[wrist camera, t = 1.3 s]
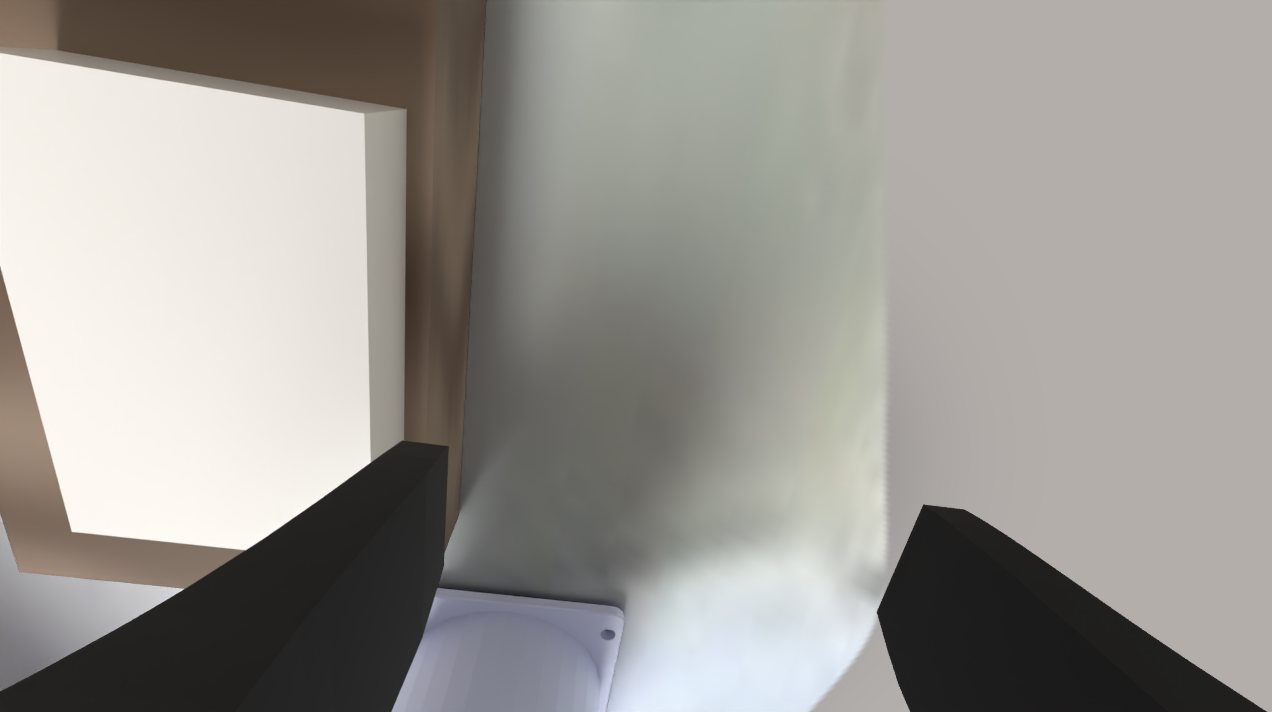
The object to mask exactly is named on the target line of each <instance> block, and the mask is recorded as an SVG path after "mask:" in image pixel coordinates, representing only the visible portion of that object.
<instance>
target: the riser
mask: <svg viewBox="0 0 1272 712" xmlns="http://www.w3.org/2000/svg"><path fill="white" fill-rule="evenodd" d="M485 16H486V0H0V47H12V48H28V49H45V50H59V51H65V52H70V53H76V54H82V55H88V56H94V57H100V58H106V59H112V60H118V61H124V62H130V63H136V64H142V65H148V66H154V67H160V68H166V69H171V70H177V71H183V72H189V73H195V74H201V75H207V76H213V77H219V78H225V79H231V80H237V81H243V82H249V83H255V84H261V85H266V86H272V87H278V88H284V89H290V90H296V91H302V92H308V93H314V94H320V95H326V96H332V97H338V98H344V99H350V100H356V101H362V102H367V103H373V104H379V105H385V106H391V107H397V108H403V109H407V128H406V254H405V381H404V441H411V442H419V443H427V444H435V445H443V446H449V455H448V479H447V502H446V525H445V549H444V553H445V550H446V547H447V545H448V542H449V539H450V537H451V534H452V531H453V529H454V526H455V524H456V521H457V518H458V516H459V501H460V482H461V464H462V445H463V426H464V408H465V389H466V370H467V352H468V333H469V314H470V296H471V277H472V258H473V240H474V221H475V202H476V184H477V165H478V146H479V128H480V109H481V90H482V72H483V53H484V34H485ZM0 514H1V517H2V520H3V524H4V527H5V530H6V533H7V536H8V539H9V542H10V545H11V548H12V551H13V554H14V557H15V560H16V564H17V567H18V570H19V572H25V573H35V574H45V575H55V576H65V577H75V578H85V579H95V580H105V581H115V582H125V583H134V584H144V585H154V586H164V587H174V588H184V589H186V588H187V587H189V586H190V585H192V584H193V583H195V582H197V581H198V580H200V579H201V578H203V577H204V576H206V575H207V574H209V573H211V572H212V571H214V570H215V569H217V568H218V567H220V566H222V565H223V564H225V563H226V562H228V561H229V560H231V559H233V558H234V557H236V556H237V555H239V554H240V553H242V552H244V551H245V550H239V549H229V548H220V547H211V546H201V545H192V544H182V543H173V542H163V541H154V540H144V539H135V538H126V537H116V536H107V535H97V534H88V533H78V532H72V531H71V527H70V523H69V519H68V516H67V512H66V508H65V505H64V501H63V497H62V494H61V490H60V486H59V482H58V479H57V475H56V471H55V468H54V464H53V460H52V456H51V453H50V449H49V445H48V442H47V438H46V434H45V430H44V427H43V423H42V419H41V416H40V412H39V408H38V405H37V401H36V397H35V393H34V390H33V386H32V382H31V379H30V375H29V371H28V367H27V364H26V360H25V356H24V353H23V349H22V345H21V342H20V338H19V334H18V330H17V327H16V323H15V319H14V316H13V312H12V308H11V304H10V301H9V297H8V293H7V290H6V286H5V282H4V278H3V275H2V271H1V267H0Z"/></svg>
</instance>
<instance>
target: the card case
mask: <svg viewBox="0 0 1272 712" xmlns="http://www.w3.org/2000/svg"><path fill="white" fill-rule="evenodd" d="M406 128H407V109H403V108H397V107H391V106H385V105H379V104H373V103H367V102H362V101H356V100H350V99H344V98H338V97H332V96H326V95H320V94H314V93H308V92H302V91H296V90H290V89H284V88H278V87H272V86H266V85H261V84H255V83H249V82H243V81H237V80H231V79H225V78H219V77H213V76H207V75H201V74H195V73H189V72H183V71H177V70H171V69H166V68H160V67H154V66H148V65H142V64H136V63H130V62H124V61H118V60H112V59H106V58H100V57H94V56H88V55H82V54H76V53H70V52H65V51H59V50H45V49H28V48H12V47H0V267H1V271H2V275H3V278H4V282H5V286H6V290H7V293H8V297H9V301H10V304H11V308H12V312H13V316H14V319H15V323H16V327H17V330H18V334H19V338H20V342H21V345H22V349H23V353H24V356H25V360H26V364H27V367H28V371H29V375H30V379H31V382H32V386H33V390H34V393H35V397H36V401H37V405H38V408H39V412H40V416H41V419H42V423H43V427H44V430H45V434H46V438H47V442H48V445H49V449H50V453H51V456H52V460H53V464H54V468H55V471H56V475H57V479H58V482H59V486H60V490H61V494H62V497H63V501H64V505H65V508H66V512H67V516H68V519H69V523H70V527H71V531H72V532H78V533H88V534H97V535H107V536H116V537H126V538H135V539H144V540H154V541H163V542H173V543H182V544H192V545H201V546H211V547H220V548H229V549H239V550H247V549H248V548H250V547H251V546H253V545H255V544H256V543H258V542H259V541H261V540H262V539H264V538H265V537H267V536H268V535H270V534H271V533H272V532H274V531H275V530H277V529H278V528H280V527H281V526H283V525H284V524H285V523H287V522H288V521H290V520H291V519H293V518H294V517H295V516H297V515H298V514H300V513H301V512H303V511H304V510H306V509H307V508H308V507H310V506H311V505H313V504H314V503H316V502H317V501H318V500H320V499H321V498H323V497H324V496H325V495H327V494H328V493H330V492H331V491H332V490H334V489H335V488H336V487H338V486H339V485H341V484H342V483H343V482H345V481H346V480H347V479H349V478H350V477H352V476H353V475H354V474H356V473H357V472H358V471H360V470H361V469H362V468H364V467H365V466H367V465H368V464H369V463H371V462H372V461H373V460H375V459H376V458H378V457H379V456H380V455H382V454H383V453H385V452H386V451H388V450H389V449H390V448H392V447H393V446H395V445H396V444H398V443H399V442H400V441H402V440H403V441H404V381H405V254H406Z"/></svg>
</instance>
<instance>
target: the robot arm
mask: <svg viewBox="0 0 1272 712" xmlns="http://www.w3.org/2000/svg"><path fill="white" fill-rule="evenodd" d="M448 455H449V446H443V445H435V444H427V443H419V442H411V441H403V440H402V441H400V442H399V443H398V444H396V445H395V446H393V447H392V448H390V449H389V450H388V451H386V452H385V453H383V454H382V455H380V456H379V457H378V458H376V459H375V460H373V461H372V462H371V463H369V464H368V465H367V466H365V467H364V468H362V469H361V470H360V471H358V472H357V473H356V474H354V475H353V476H352V477H350V478H349V479H347V480H346V481H345V482H343V483H342V484H341V485H339V486H338V487H336V488H335V489H334V490H332V491H331V492H330V493H328V494H327V495H325V496H324V497H323V498H321V499H320V500H318V501H317V502H316V503H314V504H313V505H311V506H310V507H308V508H307V509H306V510H304V511H303V512H301V513H300V514H298V515H297V516H295V517H294V518H293V519H291V520H290V521H288V522H287V523H285V524H284V525H283V526H281V527H280V528H278V529H277V530H275V531H274V532H272V533H271V534H270V535H268V536H267V537H265V538H264V539H262V540H261V541H259V542H258V543H256V544H255V545H253V546H251V547H250V548H248V549H247V550H245V551H244V552H242V553H240V554H239V555H237V556H236V557H234V558H233V559H231V560H229V561H228V562H226V563H225V564H223V565H222V566H220V567H218V568H217V569H215V570H214V571H212V572H211V573H209V574H207V575H206V576H204V577H203V578H201V579H200V580H198V581H197V582H195V583H193V584H192V585H190V586H189V587H187V588H186V589H184V590H182V591H181V592H179V593H178V594H176V595H174V596H173V597H171V598H169V599H167V600H166V601H164V602H162V603H161V604H159V605H157V606H156V607H154V608H152V609H151V610H149V611H147V612H145V613H144V614H142V615H140V616H138V617H137V618H135V619H133V620H132V621H130V622H128V623H126V624H125V625H123V626H121V627H119V628H118V629H116V630H114V631H112V632H110V633H109V634H107V635H105V636H103V637H101V638H99V639H98V640H96V641H94V642H92V643H90V644H88V645H87V646H85V647H83V648H81V649H79V650H77V651H76V652H74V653H72V654H70V655H68V656H67V657H65V658H63V659H61V660H59V661H57V662H56V663H54V664H52V665H50V666H48V667H46V668H45V669H43V670H41V671H39V672H37V673H35V674H33V675H31V676H29V677H28V678H26V679H24V680H22V681H20V682H18V683H16V684H14V685H12V686H10V687H8V688H7V689H5V690H3V691H0V712H606V709H607V704H608V700H609V695H610V690H611V685H612V680H613V676H614V671H615V666H616V661H617V657H618V652H619V647H620V642H621V637H622V633H623V628H624V613H623V612H622V610H620V609H619V608H617V607H614V606H607V605H597V604H587V603H578V602H568V601H558V600H549V599H539V598H529V597H520V596H510V595H500V594H491V593H481V592H471V591H462V590H452V589H443V588H437V587H438V584H439V580H440V577H441V574H442V570H443V567H444V549H445V525H446V502H447V479H448ZM877 614H878V618H879V621H880V625H881V628H882V632H883V635H884V639H885V643H886V646H887V650H888V653H889V656H890V659H891V662H892V665H893V669H894V671H895V674H896V678H897V681H898V684H899V687H900V689H901V691H902V694H903V696H904V698H905V701H906V703H907V705H908V708H909V710H910V712H1266V711H1265V710H1263V709H1262V708H1260V707H1259V706H1257V705H1256V704H1254V703H1253V702H1251V701H1249V700H1248V699H1246V698H1245V697H1243V696H1242V695H1240V694H1239V693H1237V692H1236V691H1234V690H1233V689H1231V688H1230V687H1228V686H1226V685H1225V684H1223V683H1222V682H1220V681H1219V680H1217V679H1216V678H1214V677H1213V676H1211V675H1210V674H1208V673H1206V672H1205V671H1203V670H1202V669H1200V668H1199V667H1197V666H1196V665H1194V664H1193V663H1191V662H1190V661H1188V660H1187V659H1185V658H1184V657H1182V656H1181V655H1179V654H1178V653H1176V652H1175V651H1173V650H1172V649H1170V648H1169V647H1167V646H1166V645H1164V644H1163V643H1162V642H1160V641H1159V640H1157V639H1156V638H1154V637H1153V636H1151V635H1150V634H1148V633H1147V632H1145V631H1144V630H1142V629H1141V628H1140V627H1138V626H1137V625H1135V624H1134V623H1132V622H1131V621H1129V620H1128V619H1126V618H1125V617H1123V616H1122V615H1121V614H1119V613H1118V612H1116V611H1115V610H1113V609H1112V608H1111V607H1109V606H1108V605H1106V604H1105V603H1103V602H1102V601H1101V600H1099V599H1098V598H1096V597H1095V596H1093V595H1092V594H1091V593H1089V592H1088V591H1086V590H1085V589H1083V588H1082V587H1081V586H1079V585H1078V584H1076V583H1075V582H1073V581H1072V580H1071V579H1069V578H1068V577H1066V576H1065V575H1063V574H1062V573H1061V572H1059V571H1058V570H1056V569H1055V568H1053V567H1052V566H1050V565H1049V564H1048V563H1046V562H1045V561H1043V560H1042V559H1041V558H1039V557H1038V556H1036V555H1035V554H1033V553H1032V552H1030V551H1029V550H1027V549H1026V548H1025V547H1023V546H1022V545H1020V544H1019V543H1017V542H1015V541H1014V540H1013V539H1011V538H1010V537H1008V536H1007V535H1005V534H1004V533H1002V532H1001V531H999V530H997V529H996V528H994V527H993V526H991V525H990V524H988V523H986V522H985V521H983V520H982V519H980V518H978V517H976V516H975V515H973V514H971V513H970V512H968V511H966V510H963V509H955V508H947V507H939V506H931V505H923V507H922V509H921V511H920V513H919V516H918V518H917V520H916V523H915V525H914V528H913V530H912V532H911V534H910V537H909V539H908V541H907V544H906V546H905V548H904V550H903V553H902V555H901V557H900V560H899V562H898V564H897V567H896V569H895V571H894V573H893V576H892V578H891V580H890V583H889V585H888V587H887V590H886V592H885V594H884V597H883V599H882V601H881V603H880V606H879V608H878V610H877ZM608 629H609V630H611V631H605V630H608Z"/></svg>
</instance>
